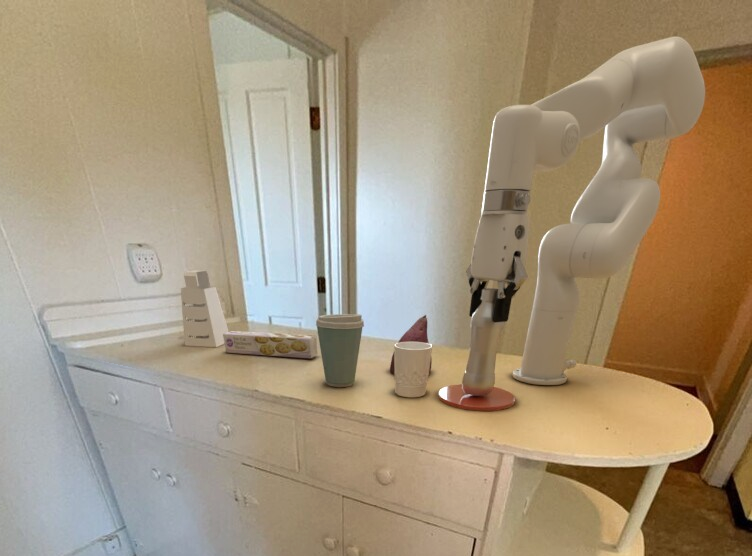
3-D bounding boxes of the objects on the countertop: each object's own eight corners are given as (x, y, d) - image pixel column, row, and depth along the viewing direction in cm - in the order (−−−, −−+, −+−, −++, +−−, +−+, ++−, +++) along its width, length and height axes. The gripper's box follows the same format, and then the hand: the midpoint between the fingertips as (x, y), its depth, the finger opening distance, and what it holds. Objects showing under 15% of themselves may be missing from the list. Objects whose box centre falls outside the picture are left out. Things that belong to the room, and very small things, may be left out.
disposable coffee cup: (308, 383, 99) (304, 313, 91) (341, 374, 106) (340, 308, 98) (340, 393, 93) (338, 318, 85) (373, 383, 100) (374, 313, 92)
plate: (481, 384, 100) (482, 380, 100) (531, 404, 88) (532, 400, 88) (424, 392, 94) (424, 389, 94) (468, 415, 82) (469, 411, 82)
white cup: (431, 390, 96) (435, 343, 90) (423, 400, 89) (427, 350, 84) (397, 386, 98) (400, 340, 92) (388, 396, 92) (389, 347, 86)
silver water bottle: (457, 390, 93) (469, 287, 82) (487, 389, 94) (503, 287, 83) (465, 399, 88) (479, 290, 77) (497, 399, 88) (516, 290, 77)
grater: (184, 345, 132) (169, 271, 121) (201, 339, 141) (188, 269, 130) (216, 347, 131) (203, 272, 120) (231, 340, 140) (220, 270, 129)
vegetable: (426, 380, 114) (446, 321, 107) (427, 386, 104) (449, 322, 98) (389, 368, 113) (406, 308, 107) (386, 373, 104) (405, 308, 97)
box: (225, 353, 124) (221, 332, 121) (235, 349, 128) (232, 329, 125) (311, 360, 118) (310, 338, 115) (318, 356, 122) (317, 335, 119)
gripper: (560, 203, 68) (535, 324, 77) (489, 208, 81) (475, 312, 90) (524, 201, 65) (503, 327, 75) (456, 207, 78) (446, 313, 88)
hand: (487, 318), depth 82 cm, fingers closed on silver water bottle, 6 cm apart
